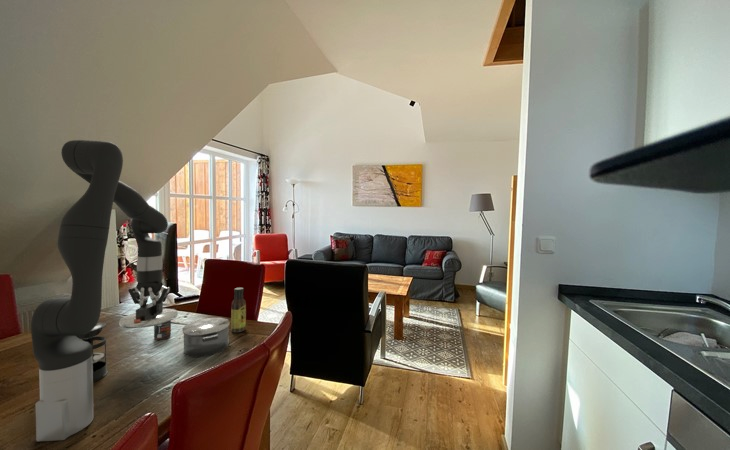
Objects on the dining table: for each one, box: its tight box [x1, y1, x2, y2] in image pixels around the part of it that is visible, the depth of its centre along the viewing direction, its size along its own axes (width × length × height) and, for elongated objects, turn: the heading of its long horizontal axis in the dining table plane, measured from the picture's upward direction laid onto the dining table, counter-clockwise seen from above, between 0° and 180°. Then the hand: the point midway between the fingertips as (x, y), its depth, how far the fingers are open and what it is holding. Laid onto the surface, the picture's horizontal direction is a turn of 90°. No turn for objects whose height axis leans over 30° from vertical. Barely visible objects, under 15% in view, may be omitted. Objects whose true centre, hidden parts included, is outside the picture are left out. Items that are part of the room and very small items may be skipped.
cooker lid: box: [118, 302, 179, 329], centre depth 103 cm, size 17×17×5 cm
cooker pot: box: [181, 317, 231, 358], centre depth 114 cm, size 22×17×9 cm
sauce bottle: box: [230, 287, 247, 333], centre depth 131 cm, size 6×6×20 cm
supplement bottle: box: [153, 320, 172, 341], centre depth 122 cm, size 6×6×11 cm
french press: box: [76, 321, 109, 383], centre depth 91 cm, size 12×9×23 cm
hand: (149, 314), depth 103 cm, fingers closed on cooker lid, 3 cm apart
